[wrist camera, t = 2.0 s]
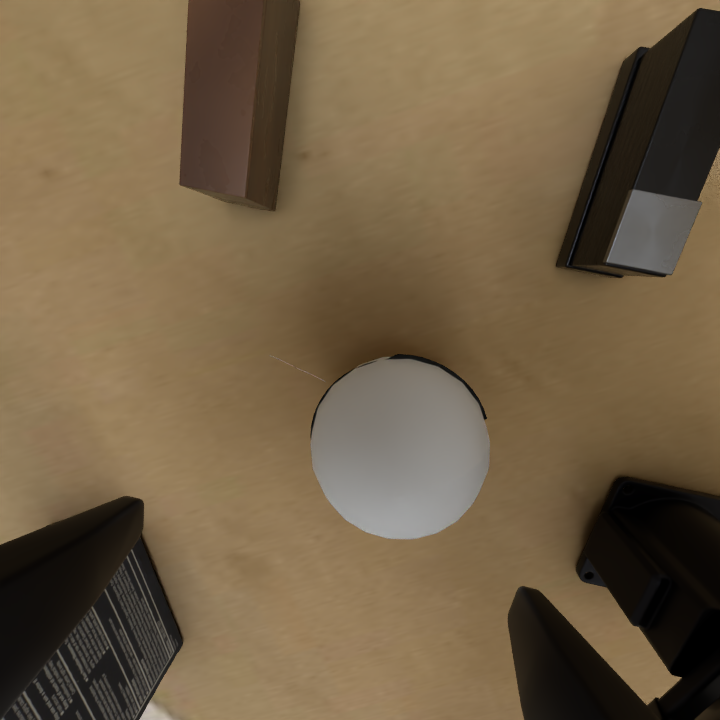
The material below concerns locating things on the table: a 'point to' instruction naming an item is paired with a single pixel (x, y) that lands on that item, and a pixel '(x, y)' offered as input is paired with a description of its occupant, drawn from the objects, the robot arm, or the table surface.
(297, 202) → the table surface
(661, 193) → the stapler
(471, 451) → the seamed sphere
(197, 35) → the brown rectangular block
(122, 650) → the small box
